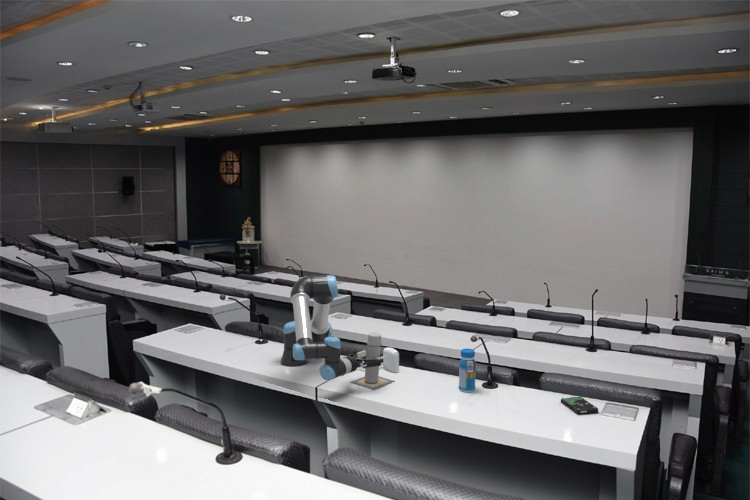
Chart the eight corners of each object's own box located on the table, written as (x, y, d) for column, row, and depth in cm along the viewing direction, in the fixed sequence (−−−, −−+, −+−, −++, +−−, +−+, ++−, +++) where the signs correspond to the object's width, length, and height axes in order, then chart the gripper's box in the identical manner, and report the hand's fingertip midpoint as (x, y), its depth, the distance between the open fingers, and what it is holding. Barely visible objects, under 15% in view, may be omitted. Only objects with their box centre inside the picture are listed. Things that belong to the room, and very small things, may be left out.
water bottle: (376, 385, 277) (380, 337, 273) (361, 382, 279) (365, 335, 275) (381, 378, 286) (384, 332, 281) (366, 375, 288) (370, 330, 283)
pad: (350, 382, 281) (350, 381, 281) (371, 374, 293) (371, 373, 293) (374, 390, 271) (374, 389, 271) (394, 381, 283) (394, 380, 283)
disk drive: (598, 414, 244) (580, 401, 258) (599, 408, 244) (580, 395, 258) (577, 416, 242) (559, 403, 256) (577, 410, 241) (560, 397, 256)
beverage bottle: (455, 390, 270) (456, 351, 268) (461, 385, 278) (462, 346, 276) (472, 393, 267) (473, 353, 264) (477, 388, 274) (478, 349, 272)
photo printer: (381, 368, 304) (382, 346, 302) (387, 367, 307) (387, 345, 305) (394, 373, 296) (394, 351, 295) (400, 371, 299) (400, 349, 297)
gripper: (328, 367, 275) (357, 357, 291) (366, 378, 258) (394, 367, 274) (328, 352, 274) (357, 344, 290) (366, 363, 258) (394, 353, 274)
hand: (375, 355), depth 282 cm, fingers open, 13 cm apart
